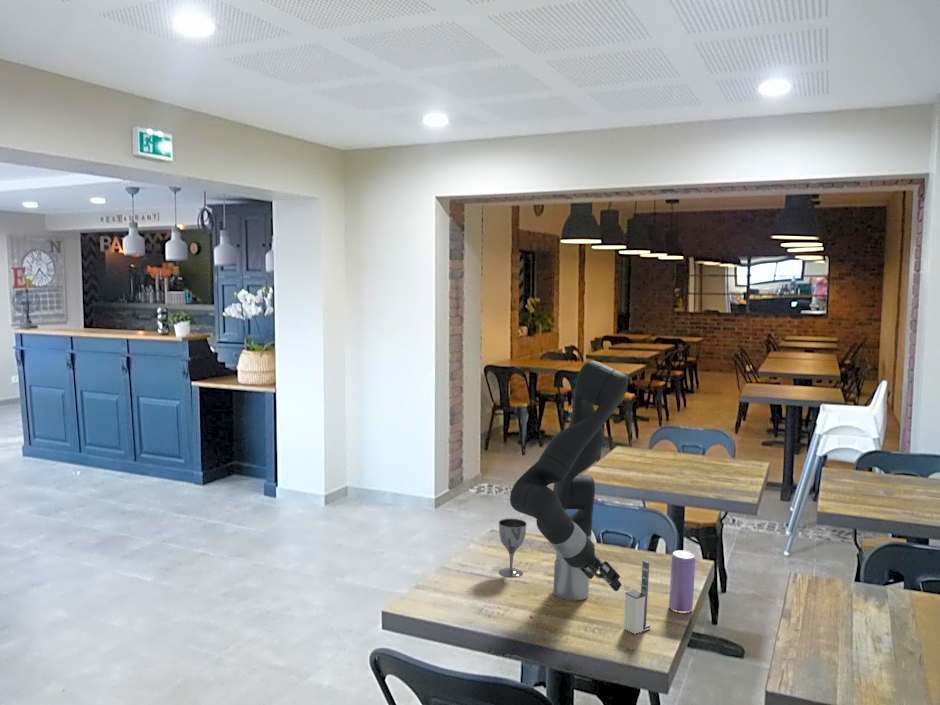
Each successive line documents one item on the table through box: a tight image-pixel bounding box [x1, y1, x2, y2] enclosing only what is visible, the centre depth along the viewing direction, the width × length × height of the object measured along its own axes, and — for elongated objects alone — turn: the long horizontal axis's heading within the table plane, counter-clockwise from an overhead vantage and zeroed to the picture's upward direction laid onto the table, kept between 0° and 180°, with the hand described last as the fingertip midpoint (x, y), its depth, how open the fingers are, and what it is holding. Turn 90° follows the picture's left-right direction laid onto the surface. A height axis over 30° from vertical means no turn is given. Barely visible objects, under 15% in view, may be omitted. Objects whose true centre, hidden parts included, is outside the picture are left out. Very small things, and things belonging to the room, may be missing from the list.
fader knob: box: [623, 589, 645, 635], centre depth 185 cm, size 3×4×9 cm
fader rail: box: [640, 560, 651, 630], centre depth 186 cm, size 2×3×17 cm, turn 34°
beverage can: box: [668, 550, 696, 611], centre depth 198 cm, size 6×6×15 cm
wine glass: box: [498, 517, 527, 579], centre depth 219 cm, size 8×8×15 cm
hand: (605, 581), depth 178 cm, fingers open, 8 cm apart
